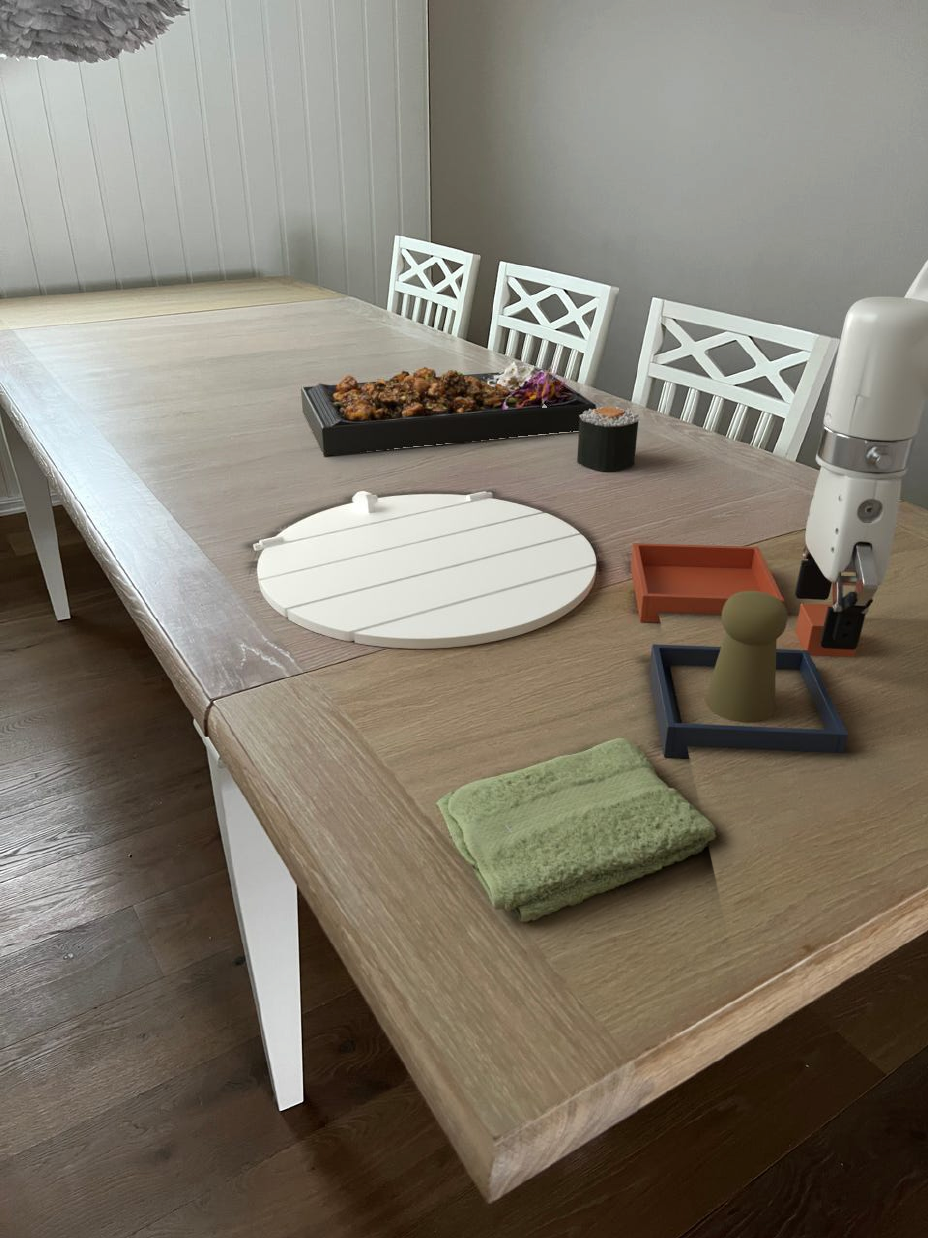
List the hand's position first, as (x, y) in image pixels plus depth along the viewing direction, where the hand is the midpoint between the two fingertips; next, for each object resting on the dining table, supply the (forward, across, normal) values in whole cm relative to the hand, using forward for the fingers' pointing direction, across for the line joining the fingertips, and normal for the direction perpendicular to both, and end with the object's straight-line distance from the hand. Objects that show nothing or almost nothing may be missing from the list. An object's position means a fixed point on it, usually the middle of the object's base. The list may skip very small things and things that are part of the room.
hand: (823, 621), depth 88 cm
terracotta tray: (+4, +12, +9) cm, 16 cm away
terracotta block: (+4, 0, -1) cm, 4 cm away
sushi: (+4, +55, +17) cm, 58 cm away
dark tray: (+4, -11, +9) cm, 15 cm away
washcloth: (+5, -28, +24) cm, 37 cm away
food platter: (+5, +74, +44) cm, 86 cm away
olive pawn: (+4, -11, +9) cm, 15 cm away
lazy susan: (+5, +18, +40) cm, 45 cm away
